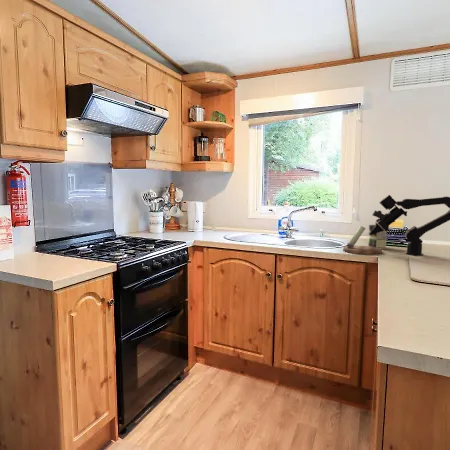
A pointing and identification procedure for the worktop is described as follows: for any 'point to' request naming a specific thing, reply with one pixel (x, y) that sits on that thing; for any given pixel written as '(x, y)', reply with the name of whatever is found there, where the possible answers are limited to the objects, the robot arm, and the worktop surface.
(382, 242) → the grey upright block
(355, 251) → the stool seat
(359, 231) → the folding leg
